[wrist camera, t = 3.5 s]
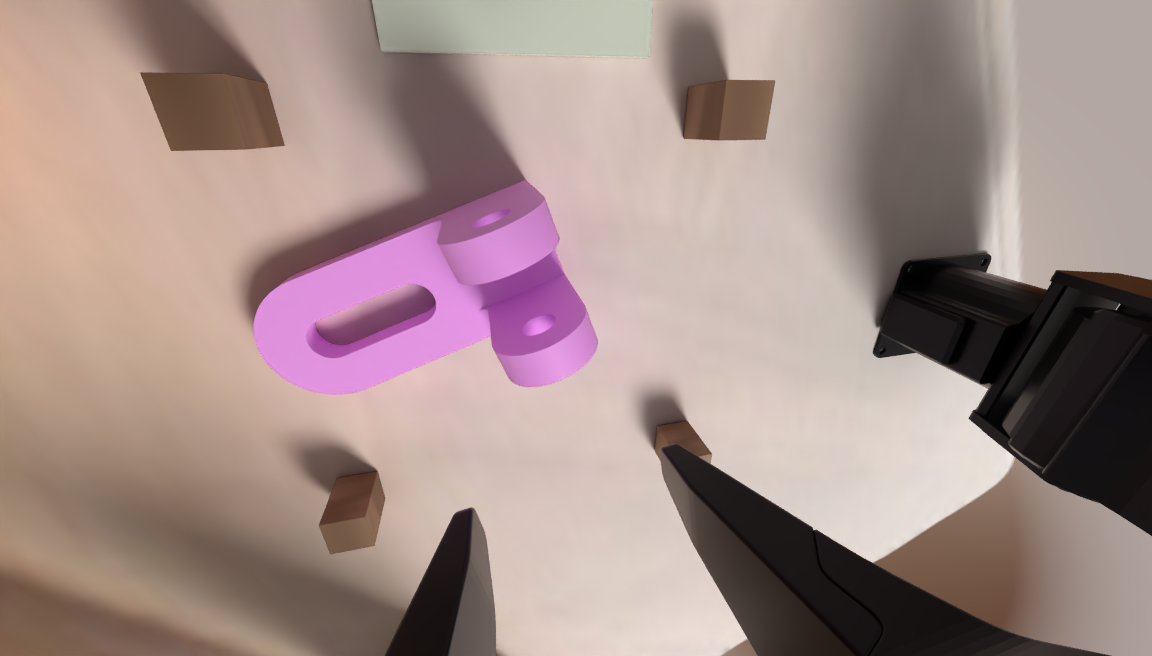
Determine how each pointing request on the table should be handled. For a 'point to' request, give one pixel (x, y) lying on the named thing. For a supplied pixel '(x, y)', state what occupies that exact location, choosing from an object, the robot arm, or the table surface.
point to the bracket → (438, 300)
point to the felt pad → (516, 27)
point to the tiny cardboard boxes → (248, 121)
